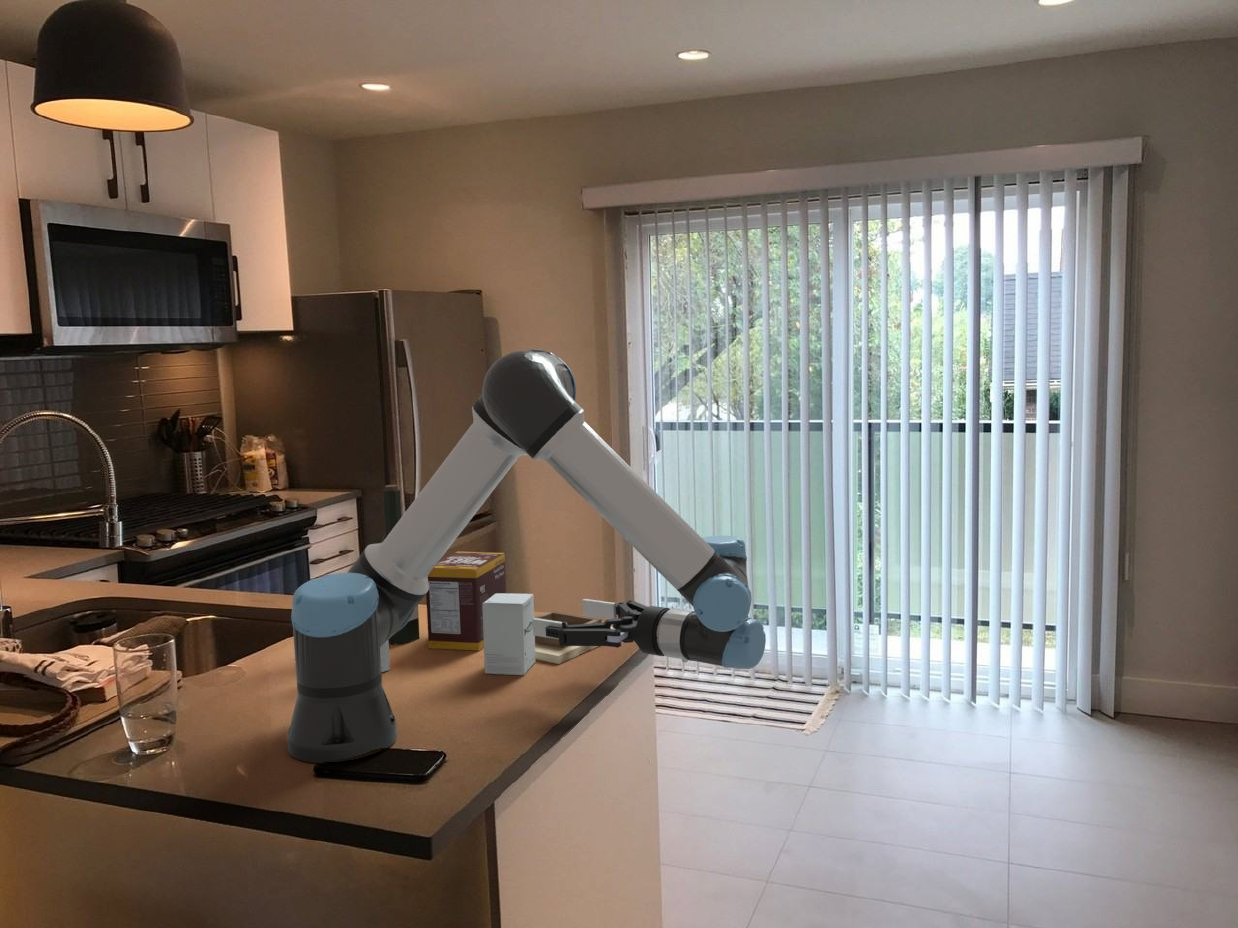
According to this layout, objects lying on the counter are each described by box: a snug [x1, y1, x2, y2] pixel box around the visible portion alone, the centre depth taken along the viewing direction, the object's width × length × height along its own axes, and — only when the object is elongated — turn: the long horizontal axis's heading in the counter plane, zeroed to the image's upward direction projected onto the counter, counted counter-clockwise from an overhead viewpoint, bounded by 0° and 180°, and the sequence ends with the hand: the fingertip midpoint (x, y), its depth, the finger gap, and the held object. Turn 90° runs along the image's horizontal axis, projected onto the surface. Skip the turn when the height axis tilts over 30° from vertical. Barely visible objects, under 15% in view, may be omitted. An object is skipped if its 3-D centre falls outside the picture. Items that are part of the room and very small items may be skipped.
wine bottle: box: [379, 484, 420, 646], centre depth 193 cm, size 8×8×30 cm
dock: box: [534, 610, 613, 665], centre depth 189 cm, size 20×16×4 cm
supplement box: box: [425, 551, 507, 652], centre depth 193 cm, size 10×15×16 cm
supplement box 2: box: [483, 592, 536, 676], centre depth 174 cm, size 7×7×13 cm
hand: (559, 616), depth 168 cm, fingers open, 13 cm apart
